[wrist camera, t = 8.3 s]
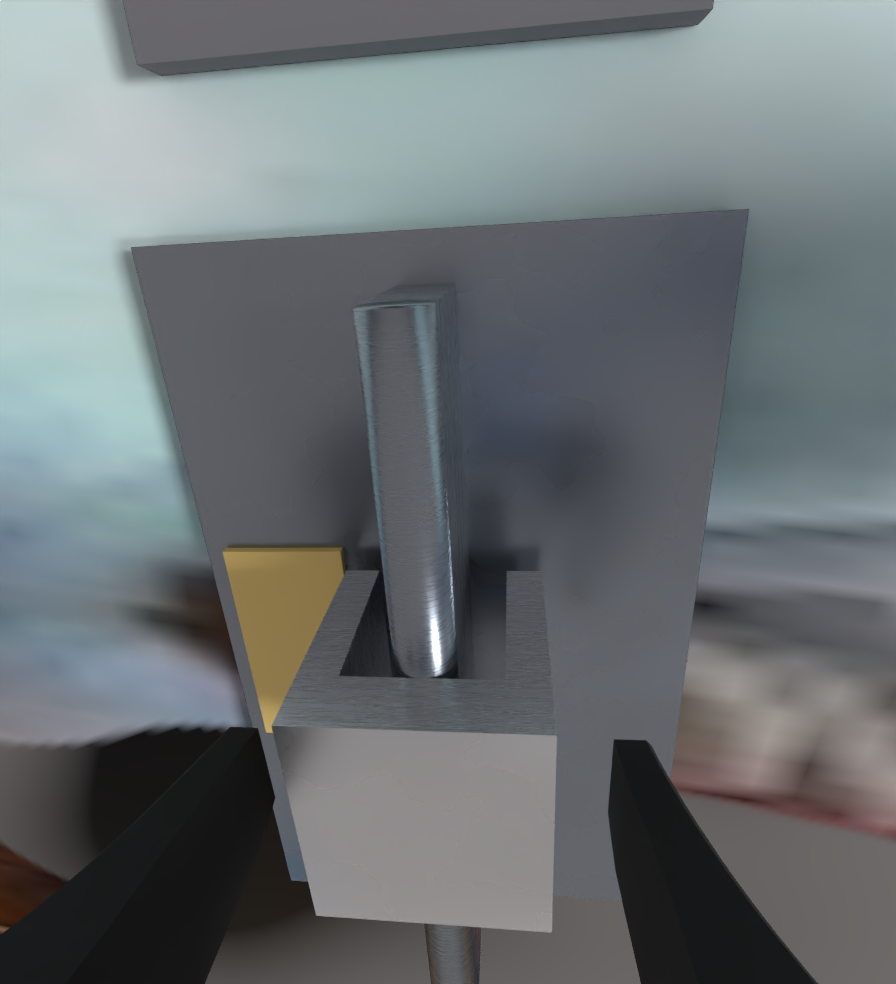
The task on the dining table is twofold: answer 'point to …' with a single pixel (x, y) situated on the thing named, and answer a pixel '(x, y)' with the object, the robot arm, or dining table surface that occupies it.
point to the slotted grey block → (423, 772)
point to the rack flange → (462, 466)
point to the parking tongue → (369, 27)
